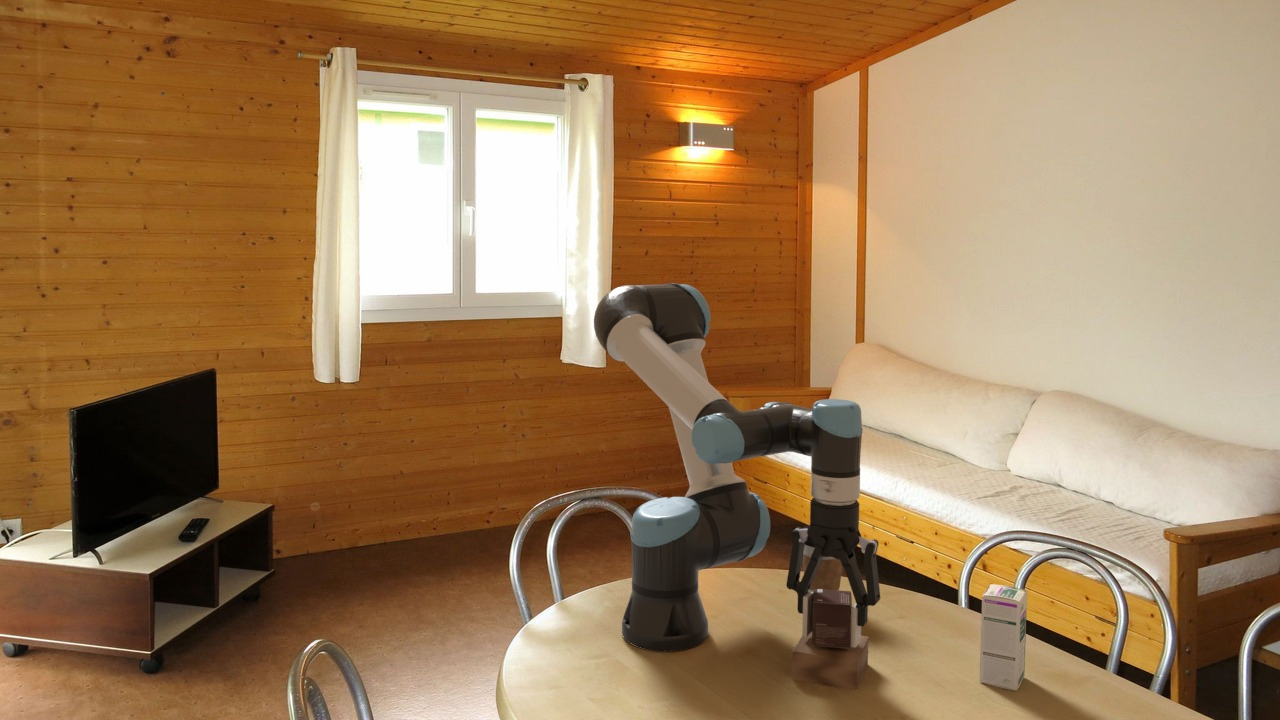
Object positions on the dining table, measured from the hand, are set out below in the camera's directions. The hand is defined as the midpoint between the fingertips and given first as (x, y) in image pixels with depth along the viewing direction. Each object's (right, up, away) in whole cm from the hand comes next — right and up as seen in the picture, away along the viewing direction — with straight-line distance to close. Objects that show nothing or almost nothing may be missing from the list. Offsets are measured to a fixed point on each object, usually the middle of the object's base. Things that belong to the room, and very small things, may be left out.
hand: (831, 638), depth 148 cm
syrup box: (+26, -6, -2) cm, 27 cm away
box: (0, -1, 0) cm, 1 cm away
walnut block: (0, -6, +1) cm, 6 cm away
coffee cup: (+4, -2, +28) cm, 29 cm away
